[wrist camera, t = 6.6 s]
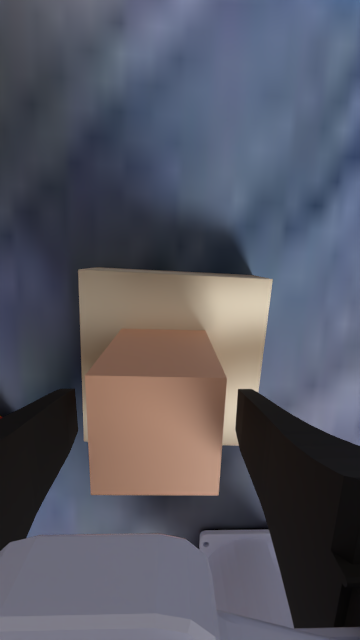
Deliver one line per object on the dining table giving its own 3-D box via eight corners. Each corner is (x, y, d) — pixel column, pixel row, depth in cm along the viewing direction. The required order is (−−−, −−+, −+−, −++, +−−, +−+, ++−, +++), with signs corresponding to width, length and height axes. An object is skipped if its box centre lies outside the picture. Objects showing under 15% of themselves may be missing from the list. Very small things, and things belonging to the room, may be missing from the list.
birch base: (235, 409, 20) (251, 446, 16) (101, 405, 20) (83, 441, 16) (250, 274, 18) (272, 279, 14) (99, 267, 17) (78, 269, 13)
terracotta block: (201, 406, 15) (218, 495, 9) (122, 404, 15) (90, 494, 9) (205, 330, 14) (226, 378, 8) (121, 328, 14) (84, 375, 8)
